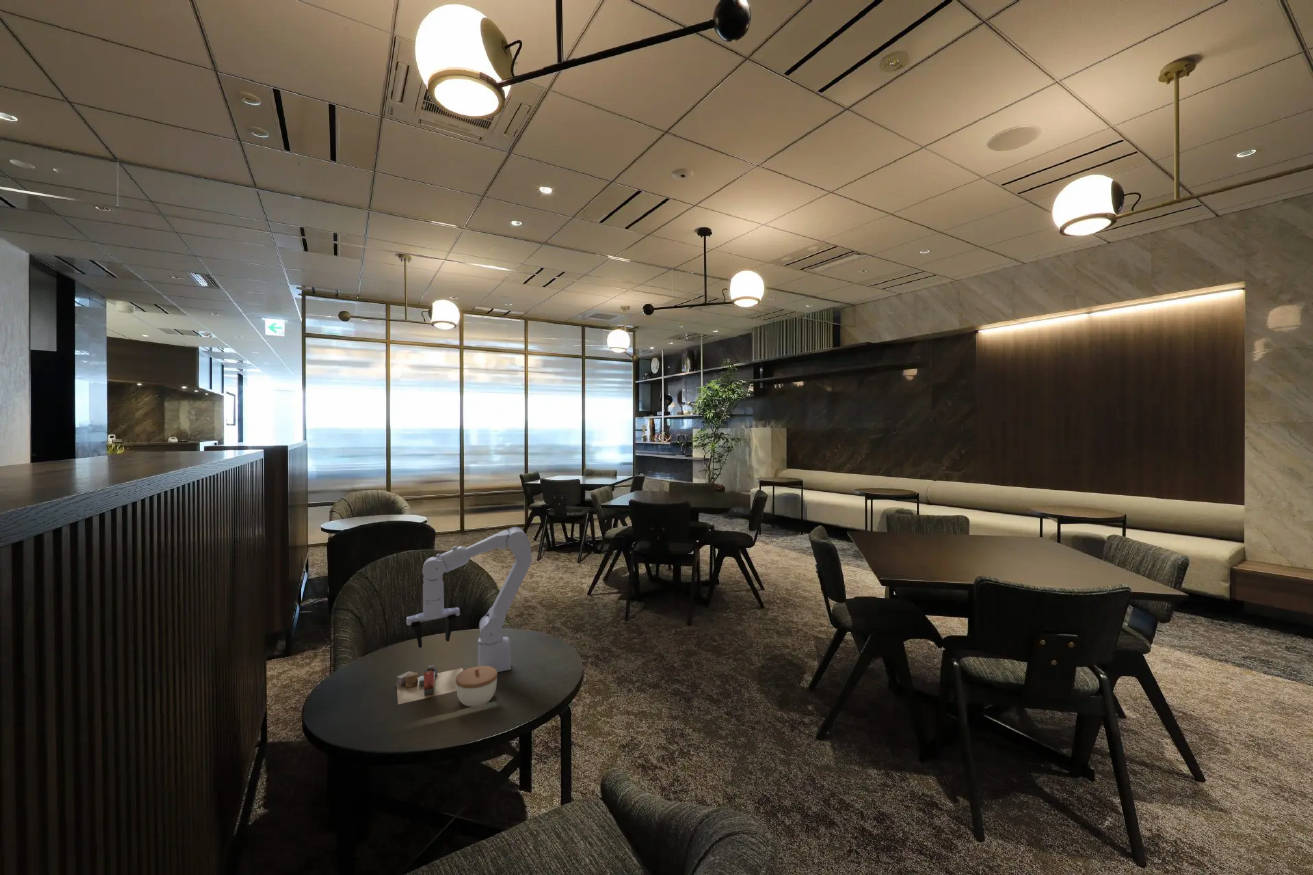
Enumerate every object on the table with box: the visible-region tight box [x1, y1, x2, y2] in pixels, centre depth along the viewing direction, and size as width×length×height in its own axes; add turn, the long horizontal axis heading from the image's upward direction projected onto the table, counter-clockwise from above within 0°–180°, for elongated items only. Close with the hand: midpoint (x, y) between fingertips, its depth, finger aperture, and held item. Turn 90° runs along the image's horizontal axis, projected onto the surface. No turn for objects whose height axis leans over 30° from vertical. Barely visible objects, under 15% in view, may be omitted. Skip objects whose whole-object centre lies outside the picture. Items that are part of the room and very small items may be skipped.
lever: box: [419, 666, 438, 695], centre depth 146 cm, size 5×14×6 cm, turn 22°
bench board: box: [396, 664, 464, 706], centre depth 146 cm, size 18×14×4 cm
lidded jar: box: [456, 665, 498, 710], centre depth 138 cm, size 11×11×9 cm
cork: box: [406, 671, 419, 688], centre depth 145 cm, size 3×3×3 cm
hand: (433, 643), depth 152 cm, fingers open, 7 cm apart
